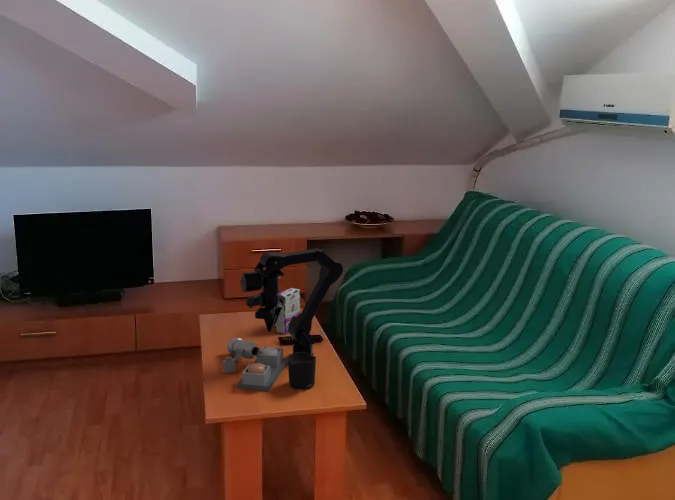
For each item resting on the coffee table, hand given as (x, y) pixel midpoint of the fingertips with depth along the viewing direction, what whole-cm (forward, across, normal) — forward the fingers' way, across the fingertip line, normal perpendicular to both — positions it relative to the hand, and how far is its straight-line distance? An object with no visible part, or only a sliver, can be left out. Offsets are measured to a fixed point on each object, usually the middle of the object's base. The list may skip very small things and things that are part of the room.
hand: (271, 329), depth 244 cm
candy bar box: (+13, -35, -3) cm, 38 cm away
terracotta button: (+10, +18, 0) cm, 21 cm away
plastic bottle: (+10, -7, -17) cm, 21 cm away
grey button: (+11, +2, 0) cm, 11 cm away
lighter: (+13, +9, -11) cm, 20 cm away
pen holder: (+13, +15, +15) cm, 25 cm away
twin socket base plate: (+13, +10, 0) cm, 16 cm away
